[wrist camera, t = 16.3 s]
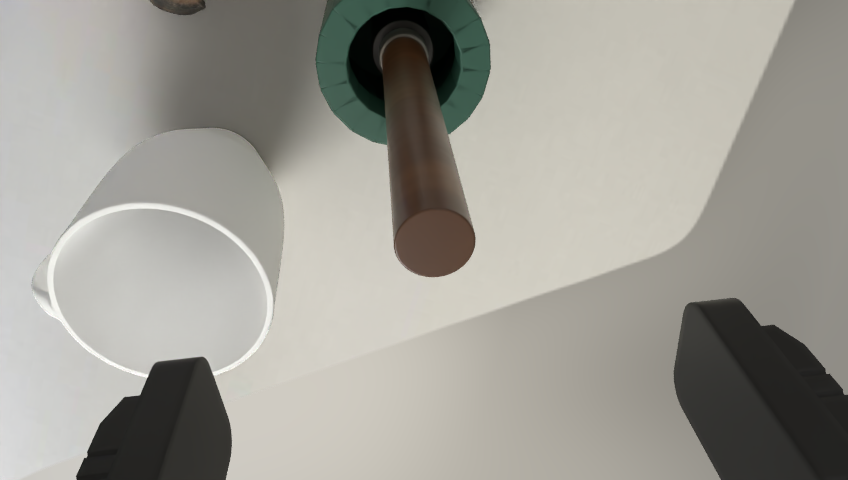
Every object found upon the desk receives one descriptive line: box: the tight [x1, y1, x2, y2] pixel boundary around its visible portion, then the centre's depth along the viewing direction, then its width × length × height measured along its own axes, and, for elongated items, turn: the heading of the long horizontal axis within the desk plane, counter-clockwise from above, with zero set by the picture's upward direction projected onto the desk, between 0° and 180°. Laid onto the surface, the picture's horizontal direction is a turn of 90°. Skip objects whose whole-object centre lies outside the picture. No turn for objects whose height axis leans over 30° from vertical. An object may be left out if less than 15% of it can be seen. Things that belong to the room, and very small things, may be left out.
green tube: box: [316, 0, 491, 145], centre depth 29 cm, size 7×7×8 cm
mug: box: [32, 128, 284, 378], centre depth 31 cm, size 12×9×12 cm
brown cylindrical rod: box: [371, 7, 475, 277], centre depth 23 cm, size 3×3×21 cm
